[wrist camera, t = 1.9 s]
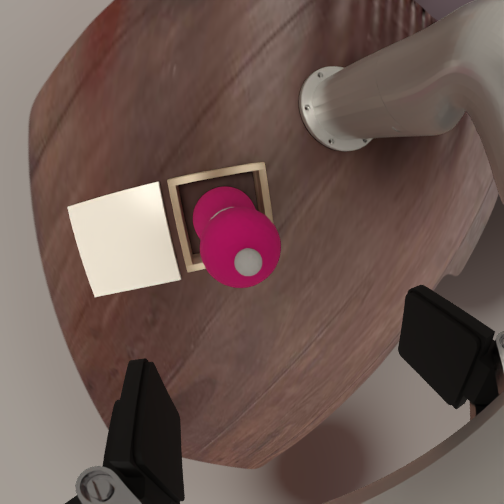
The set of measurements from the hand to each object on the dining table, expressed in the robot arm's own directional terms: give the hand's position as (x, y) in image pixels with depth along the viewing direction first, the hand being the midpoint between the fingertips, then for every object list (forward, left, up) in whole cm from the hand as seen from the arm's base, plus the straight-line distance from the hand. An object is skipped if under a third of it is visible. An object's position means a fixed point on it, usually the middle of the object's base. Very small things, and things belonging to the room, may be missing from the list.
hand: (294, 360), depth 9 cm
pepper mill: (0, 0, -29) cm, 29 cm away
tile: (+13, +1, -29) cm, 32 cm away
